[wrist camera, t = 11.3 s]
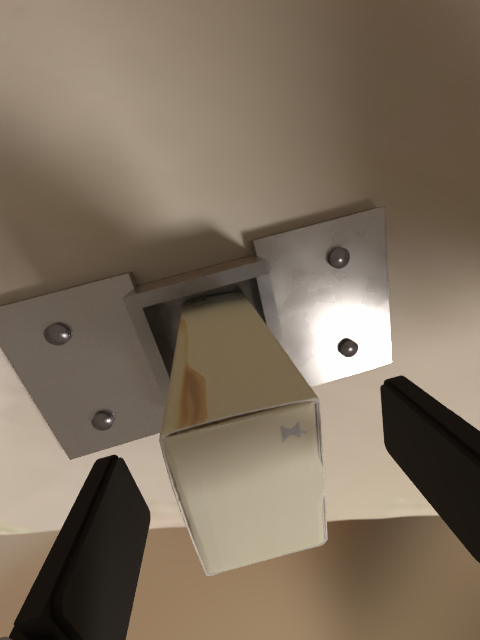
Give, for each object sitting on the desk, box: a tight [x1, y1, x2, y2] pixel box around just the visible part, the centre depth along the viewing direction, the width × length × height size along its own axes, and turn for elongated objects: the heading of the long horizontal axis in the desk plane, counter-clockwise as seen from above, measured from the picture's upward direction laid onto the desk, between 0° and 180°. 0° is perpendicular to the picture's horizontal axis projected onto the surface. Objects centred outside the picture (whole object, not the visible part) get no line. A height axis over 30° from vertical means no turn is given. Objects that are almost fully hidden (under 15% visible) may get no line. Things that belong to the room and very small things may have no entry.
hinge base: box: [0, 207, 392, 460], centre depth 18 cm, size 26×12×4 cm, turn 104°
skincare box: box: [159, 292, 327, 576], centre depth 13 cm, size 6×4×12 cm
